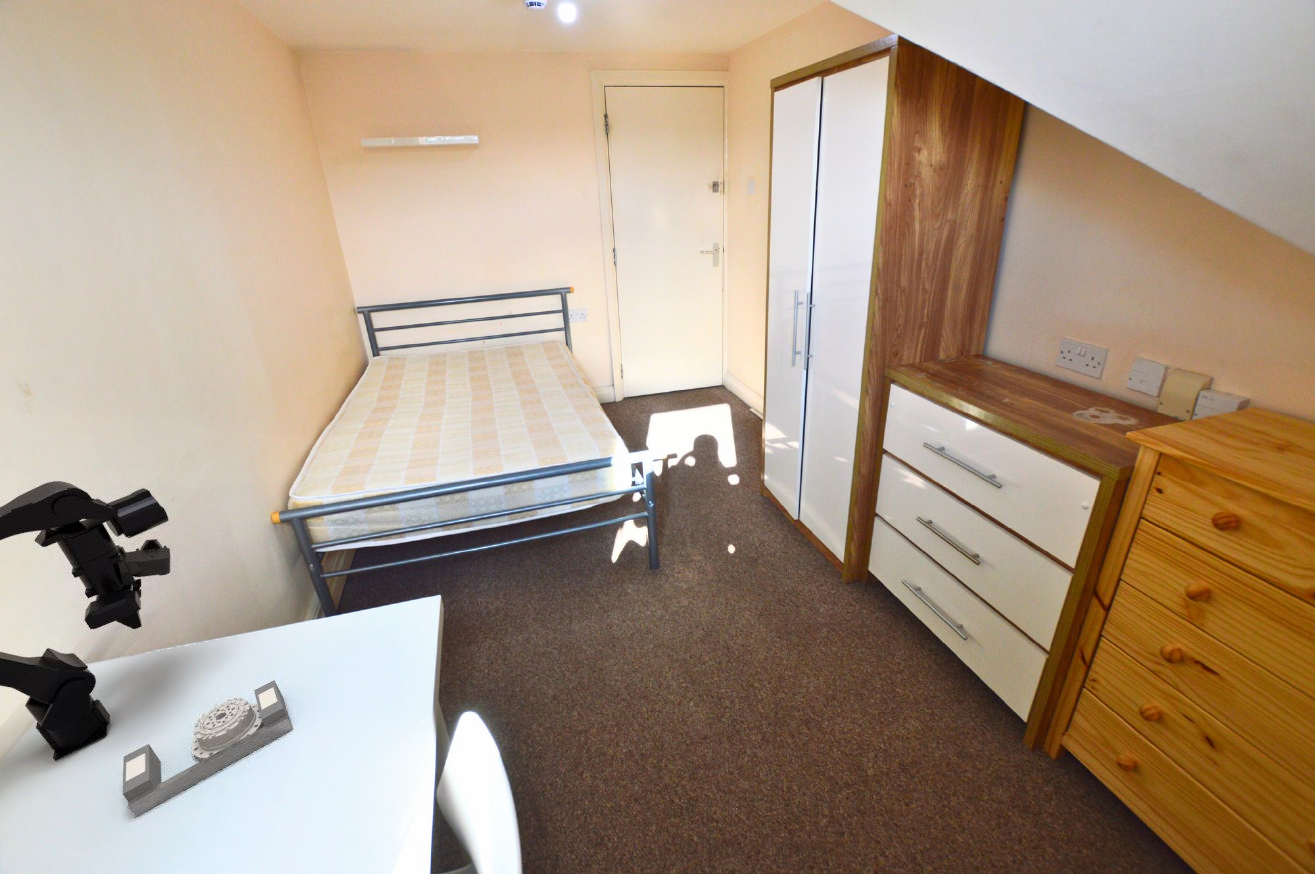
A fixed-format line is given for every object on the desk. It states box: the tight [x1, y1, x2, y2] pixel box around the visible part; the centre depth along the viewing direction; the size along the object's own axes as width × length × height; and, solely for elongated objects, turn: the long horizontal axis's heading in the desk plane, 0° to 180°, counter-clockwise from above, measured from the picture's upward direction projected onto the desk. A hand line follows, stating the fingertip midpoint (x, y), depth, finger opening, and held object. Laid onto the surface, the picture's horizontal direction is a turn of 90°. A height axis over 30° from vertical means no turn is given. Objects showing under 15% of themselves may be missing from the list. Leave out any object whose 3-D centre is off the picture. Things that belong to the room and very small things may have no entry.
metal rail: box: [127, 715, 294, 818], centre depth 86 cm, size 20×1×2 cm, turn 131°
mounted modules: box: [122, 679, 292, 802], centre depth 89 cm, size 20×8×4 cm, turn 130°
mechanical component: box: [190, 697, 265, 762], centre depth 92 cm, size 10×4×10 cm
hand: (138, 626), depth 99 cm, fingers closed
